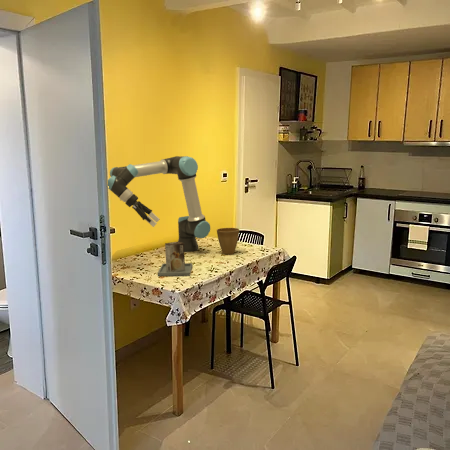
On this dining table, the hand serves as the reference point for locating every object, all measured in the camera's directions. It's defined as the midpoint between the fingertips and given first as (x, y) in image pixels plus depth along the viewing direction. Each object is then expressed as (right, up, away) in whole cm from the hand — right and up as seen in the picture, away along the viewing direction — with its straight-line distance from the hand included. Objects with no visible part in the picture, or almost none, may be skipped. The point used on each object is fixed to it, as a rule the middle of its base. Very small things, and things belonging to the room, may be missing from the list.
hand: (156, 223), depth 262 cm
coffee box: (+12, -27, -5) cm, 30 cm away
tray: (+12, -27, -5) cm, 30 cm away
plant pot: (+42, -20, +37) cm, 59 cm away
